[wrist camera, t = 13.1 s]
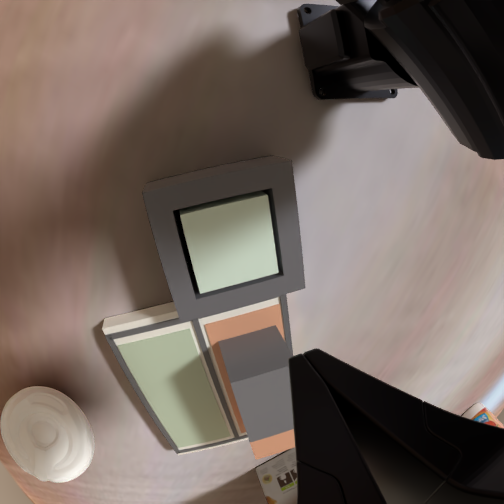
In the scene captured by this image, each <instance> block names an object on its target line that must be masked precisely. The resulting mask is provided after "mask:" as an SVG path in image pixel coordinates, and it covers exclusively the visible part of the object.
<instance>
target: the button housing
mask: <svg viewBox="0 0 504 504" xmlns="http://www.w3.org/2000/svg"><path fill="white" fill-rule="evenodd" d="M260 190H261V191H262V192H264V193H265V194H267V195H268V201H269V207H270V214H271V221H272V228H273V235H274V243H275V250H276V257H277V265H278V272H279V273H276V274H272V275H269V276H265V277H261V278H258V279H254V280H250V281H247V282H243V283H239V284H235V285H232V286H228V287H224V288H220V289H217V290H213V291H209V292H205V293H201V294H200V291H199V287H198V284H197V280H196V276H195V275H191V273H190V269H189V265H188V262H187V258H186V254H185V250H184V246H183V242H182V239H181V235H180V231H179V227H178V223H177V219H176V214H175V210H178V209H182V208H186V207H190V206H194V205H198V204H202V203H206V202H211V201H215V200H219V199H224V198H228V197H232V196H237V195H241V194H246V193H251V192H255V191H260ZM142 194H143V198H144V202H145V206H146V210H147V214H148V217H149V221H150V225H151V229H152V232H153V236H154V239H155V243H156V246H157V250H158V253H159V257H160V260H161V263H162V267H163V270H164V273H165V276H166V280H167V283H168V286H169V289H170V292H171V295H172V298H173V301H174V304H175V307H176V310H177V313H178V316H179V319H180V322H185V321H189V320H193V319H197V318H201V317H205V316H209V315H212V314H216V313H220V312H224V311H227V310H231V309H235V308H238V307H242V306H246V305H249V304H253V303H256V302H260V301H263V300H267V299H270V298H274V297H277V296H281V295H284V294H287V293H291V292H294V291H297V290H301V289H304V288H305V279H304V267H303V256H302V246H301V236H300V227H299V217H298V208H297V200H296V191H295V183H294V175H293V167H292V160H288V159H284V158H280V157H276V156H267V157H262V158H256V159H251V160H245V161H240V162H235V163H230V164H225V165H221V166H216V167H211V168H207V169H202V170H198V171H193V172H189V173H185V174H180V175H176V176H172V177H168V178H164V179H160V180H156V181H152V182H149V183H146V185H145V188H144V190H143V192H142Z"/></svg>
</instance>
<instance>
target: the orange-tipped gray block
mask: <svg viewBox="0 0 504 504" xmlns="http://www.w3.org/2000/svg"><path fill="white" fill-rule="evenodd" d="M218 343H219V346H220V350H221V353H222V357H223V360H224V363H225V367H226V370H227V373H228V377H229V380H230V383H231V386H232V390H233V393H234V396H235V399H236V402H237V405H238V408H239V411H240V414H241V417H242V420H243V423H244V426H245V429H246V432H247V435H248V438H249V441H250V444H251V447H252V450H253V453H254V455H255V458H256V459H260V458H263V457H266V456H270V455H273V454H276V453H279V452H282V451H285V450H288V449H291V448H294V447H295V439H294V425H293V413H292V400H291V388H290V377H289V366H288V359H289V358H290V357H292V356H293V354H292V353H291V351H290V349H289V347H288V346H287V344H286V342H285V341H284V339H283V337H282V335H281V334H280V332H279V330H278V328H277V327H276V325H274V326H271V327H267V328H264V329H261V330H257V331H254V332H250V333H247V334H243V335H240V336H236V337H232V338H229V339H225V340H221V341H218Z"/></svg>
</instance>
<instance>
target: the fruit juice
mask: <svg viewBox="0 0 504 504" xmlns="http://www.w3.org/2000/svg"><path fill="white" fill-rule="evenodd" d="M462 417H465V418H468V419H471V420H475V421H478V422H482V423H486V424H489V425H493V426H497V427H500V428H504V426H503V424H502V423H501V422H500V421H499V420H498V419H497V418H496V417H495V416H494V415H493V414H492V413H491V412H490V411H489V410H488V409H487V408H486V407H485V406H484V405H483V404H482V403H480V402H478V403H476V404H474V405H473V406H472V407H471V408H469V409H468V410H467V411H466V412H465V413H464V414H463V415H462Z"/></svg>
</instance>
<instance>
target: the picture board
mask: <svg viewBox="0 0 504 504" xmlns="http://www.w3.org/2000/svg"><path fill="white" fill-rule="evenodd" d="M274 325H276V327H277V328H278V330H279V332H280V334H281V335H282V337H283V339H284V341H285V342H286V344H287V346H288V347H289V349H290V351H291V353H292V354H293V350H292V341H291V332H290V323H289V314H288V306H287V297H286V294H284V295H281V296H277V297H274V298H270V299H267V300H263V301H260V302H256V303H253V304H249V305H246V306H242V307H238V308H235V309H231V310H227V311H224V312H220V313H216V314H212V315H209V316H205V317H201V318H197V319H193V320H189V321H185V322H180V319H179V316H178V313H177V310H176V307H175V304H174V302H170V303H166V304H162V305H158V306H154V307H150V308H146V309H142V310H138V311H134V312H129V313H125V314H121V315H117V316H113V317H108V318H105V319H104V323H103V327H102V330H103V332H104V334H105V337H106V339H107V341H108V343H109V345H110V347H111V349H112V351H113V353H114V355H115V357H116V358H117V360H118V362H119V364H120V366H121V368H122V369H123V371H124V373H125V375H126V376H127V378H128V380H129V382H130V383H131V385H132V387H133V389H134V390H135V392H136V394H137V395H138V397H139V398H140V400H141V402H142V403H143V405H144V406H145V408H146V410H147V411H148V413H149V414H150V416H151V417H152V419H153V420H154V422H155V423H156V425H157V426H158V428H159V429H160V431H161V432H162V434H163V435H164V437H165V438H166V439H167V441H168V442H169V444H170V445H171V446H172V448H173V449H174V451H175V452H176V453H177V454H178V455H182V454H187V453H193V452H197V451H202V450H207V449H211V448H215V447H220V446H224V445H228V444H232V443H236V442H239V441H243V440H247V439H249V438H248V435H247V432H246V429H245V426H244V423H243V420H242V417H241V414H240V411H239V408H238V405H237V402H236V399H235V396H234V393H233V390H232V386H231V383H230V380H229V377H228V373H227V370H226V367H225V363H224V360H223V357H222V353H221V350H220V346H219V343H218V341H221V340H225V339H229V338H232V337H236V336H240V335H243V334H247V333H250V332H254V331H257V330H261V329H264V328H267V327H271V326H274Z"/></svg>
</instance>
